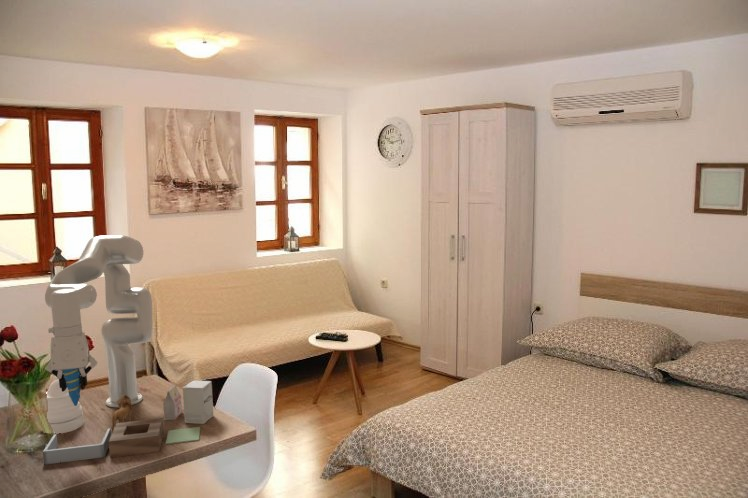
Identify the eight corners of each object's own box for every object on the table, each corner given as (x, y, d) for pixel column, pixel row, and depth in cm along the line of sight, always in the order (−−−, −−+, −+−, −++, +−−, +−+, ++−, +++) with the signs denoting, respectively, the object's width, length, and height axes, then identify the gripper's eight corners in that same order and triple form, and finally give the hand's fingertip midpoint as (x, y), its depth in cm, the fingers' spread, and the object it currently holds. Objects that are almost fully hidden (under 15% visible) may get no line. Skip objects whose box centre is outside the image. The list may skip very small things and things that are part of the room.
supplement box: (204, 424, 210) (202, 388, 208) (184, 423, 211) (181, 387, 210) (214, 415, 217) (212, 380, 215) (194, 414, 219) (192, 379, 217)
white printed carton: (164, 419, 215) (162, 391, 214) (172, 412, 222) (170, 385, 220) (175, 419, 215) (173, 391, 213) (182, 412, 221) (180, 384, 220)
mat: (168, 431, 205) (168, 430, 205) (200, 427, 207) (200, 426, 207) (165, 444, 195) (165, 443, 195) (198, 440, 198) (198, 439, 197)
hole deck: (117, 438, 201) (116, 423, 200) (163, 432, 204) (162, 418, 203) (110, 457, 187) (108, 441, 187) (159, 451, 191) (158, 435, 190)
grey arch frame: (55, 446, 196) (53, 434, 195) (111, 440, 200) (110, 428, 199) (44, 464, 184) (42, 451, 184) (104, 457, 188) (103, 444, 187)
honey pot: (44, 422, 216) (38, 372, 213) (84, 416, 220) (80, 366, 218) (38, 437, 204) (33, 383, 201) (82, 430, 208) (77, 377, 206)
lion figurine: (118, 418, 217) (116, 393, 216) (134, 417, 218) (132, 392, 217) (109, 436, 203) (107, 409, 202) (127, 434, 204) (124, 408, 203)
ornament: (65, 410, 187) (60, 361, 185) (66, 404, 192) (61, 356, 190) (84, 406, 189) (79, 359, 187) (85, 400, 194) (80, 354, 192)
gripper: (33, 336, 182) (39, 396, 184) (96, 331, 185) (101, 390, 188) (40, 329, 189) (46, 387, 192) (100, 324, 193) (106, 381, 195)
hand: (73, 388), depth 190 cm, fingers closed on ornament, 4 cm apart
